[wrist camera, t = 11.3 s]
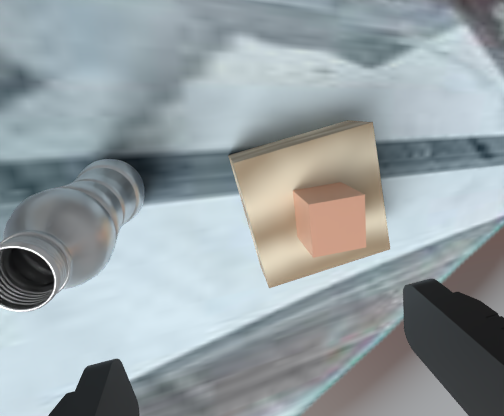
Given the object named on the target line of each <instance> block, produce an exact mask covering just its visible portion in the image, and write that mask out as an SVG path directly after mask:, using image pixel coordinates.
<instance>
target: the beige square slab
mask: <svg viewBox="0 0 504 416" xmlns="http://www.w3.org/2000/svg"><path fill="white" fill-rule="evenodd" d="M228 156H229V159H230V163H231V166H232V170H233V173H234V176H235V180H236V183H237V187H238V190H239V194H240V197H241V201H242V204H243V207H244V211H245V214H246V218H247V221H248V225H249V228H250V231H251V235H252V238H253V242H254V245H255V249H256V252H257V256H258V259H259V262H260V266H261V268H262V271H263V273H264V276H265V278H266V281H267V284H268V286H269V288H271V287H275V286H278V285H281V284H284V283H287V282H290V281H293V280H296V279H299V278H302V277H305V276H309V275H312V274H315V273H318V272H321V271H324V270H327V269H330V268H333V267H336V266H339V265H343V264H346V263H349V262H352V261H355V260H358V259H361V258H364V257H367V256H370V255H373V254H377V253H380V252H383V251H386V250H389V249H390V243H389V236H388V229H387V222H386V214H385V207H384V200H383V193H382V186H381V178H380V171H379V164H378V157H377V149H376V142H375V135H374V128H373V122H363V121H350V120H347V121H344V122H340V123H337V124H333V125H330V126H327V127H323V128H320V129H316V130H313V131H309V132H306V133H303V134H299V135H296V136H292V137H289V138H286V139H282V140H279V141H275V142H272V143H268V144H265V145H262V146H258V147H255V148H251V149H248V150H245V151H241V152H238V153H234V154H231V155H228ZM339 182H342V183H344V184H346V185H348V186H349V187H351V188H353V189H355V190H357V191H359V192H361V193H363V194H365V218H366V248H361V249H356V250H351V251H346V252H340V253H335V254H330V255H325V256H320V257H315V258H313V257H312V256H311V254H310V253H309V252H308V250H307V249H306V248H305V246H304V245H303V244H302V242H301V241H300V240H299V238H298V237H297V228H296V218H295V208H294V198H293V190H298V189H304V188H310V187H315V186H321V185H327V184H333V183H339Z"/></svg>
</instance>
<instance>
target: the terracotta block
mask: <svg viewBox="0 0 504 416" xmlns="http://www.w3.org/2000/svg"><path fill="white" fill-rule="evenodd" d="M293 198H294V208H295V218H296V228H297V237H298V238H299V240H300V241H301V242H302V244H303V245H304V246H305V248H306V249H307V250H308V252H309V253H310V254H311V256H312V257H313V258H315V257H320V256H325V255H330V254H335V253H340V252H346V251H351V250H356V249H361V248H366V218H365V194H363V193H361V192H359V191H357V190H355V189H353V188H351V187H349V186H348V185H346V184H344V183H342V182H339V183H333V184H327V185H321V186H315V187H310V188H304V189H298V190H293Z"/></svg>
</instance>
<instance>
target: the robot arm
mask: <svg viewBox="0 0 504 416" xmlns="http://www.w3.org/2000/svg"><path fill="white" fill-rule="evenodd" d="M403 306H404V331H405V335H406V338H407V340H408V343H409V345H410V346H411V348H412V350H413V351H414V352H415V353H416V355H417V356H418V357H419V358H420V359H421V360H422V362H423V363H424V364H425V365H426V366H427V367H428V369H429V370H430V371H431V372H432V373H433V374H434V376H435V377H436V378H437V379H438V380H439V381H440V383H441V384H442V385H443V386H444V387H445V388H446V390H447V391H448V392H449V393H450V394H451V395H452V397H453V398H454V399H455V400H456V401H457V402H458V404H459V405H460V406H461V407H462V408H463V409H464V411H465V412H466V413H467V414H468V415H469V416H504V318H503V317H502V316H501V317H500V316H499V315H498V313H496V312H495V311H494V310H492V309H491V308H489V307H488V306H487V305H485V304H484V303H482V302H481V301H479V300H477V299H474V298H472V297H470V296H467V295H465V294H462V293H460V292H455V293H452V292H451V291H450V290H449V289H447V288H446V287H445V286H443V285H442V284H441V283H439V282H438V281H437V280H435V279H427V280H423V281H420V282H416V283H412V284H408V285H405V287H404V289H403ZM48 416H139V406H138V402H137V398H136V396H135V394H134V391H133V389H132V386H131V384H130V381H129V379H128V376H127V374H126V372H125V369H124V367H123V364H122V362H121V361H120V360H119V359H113V360H109V361H105V362H101V363H97V364H94V365H90V366H87V367H86V368H85V369H84V371H83V374H82V376H81V378H80V381H79V383H78V385H77V388H76V390H75V391H74V392H70V393H67V394H66V395H65V396H64V397H63V398H62V399H61V401H60V402H59V403H58V404H57V405H56V407H55V408H54V409H53V410H52V412H51V413H50V414H49V415H48Z"/></svg>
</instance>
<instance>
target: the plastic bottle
mask: <svg viewBox="0 0 504 416" xmlns="http://www.w3.org/2000/svg"><path fill="white" fill-rule="evenodd" d="M144 197H145V190H144V183H143V180H142V178H141V176H140V174H139V173H138V172H137V170H136V169H135V168H134V167H132V166H131V165H129V164H128V163H126V162H124V161H121V160H116V159H103V160H98V161H95V162H93V163H91V164H90V165H88V166H87V167H86V168H85V169H84V170H83V171H82V172H81V173H80V174H79V176H78V177H77V179H76V180H75V181H74V182H72V183H71V184H68V185H66V186H62V187H57V188H53V189H48V190H45V191H42V192H40V193H37V194H34V195H32V196H30V197H28V198H27V199H25V200H24V201H22V202H21V203H20V204H19V205H18V206H17V207H16V209H15V210H14V212H13V213H12V215H11V217H10V218H9V220H8V222H7V224H6V227H5V230H4V238H3V241H2V242H1V243H0V307H1V308H3V309H6V310H10V311H16V312H28V311H33V310H36V309H38V308H41V307H42V306H44V305H45V304H47V303H48V302H49V301H50V300H51V299H52V298H53V297H54V296H55V295H56V294H57V293H58V292H60V291H61V290H62V289H66V288H72V287H76V286H78V285H81V284H83V283H85V282H87V281H88V280H90V279H92V278H93V277H95V276H96V275H98V274H99V273H100V272H101V271H102V270H103V269H104V268H105V266H106V265H107V263H108V262H109V260H110V257H111V255H112V253H113V250H114V248H115V243H116V240H117V236H118V233H119V231H120V228H121V227H122V226H123V225H124V224H125V223H127V222H128V221H130V220H131V219H132V218H133V217H135V216H136V215H137V214H138V212H139V211H140V209H141V207H142V205H143V202H144Z"/></svg>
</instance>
